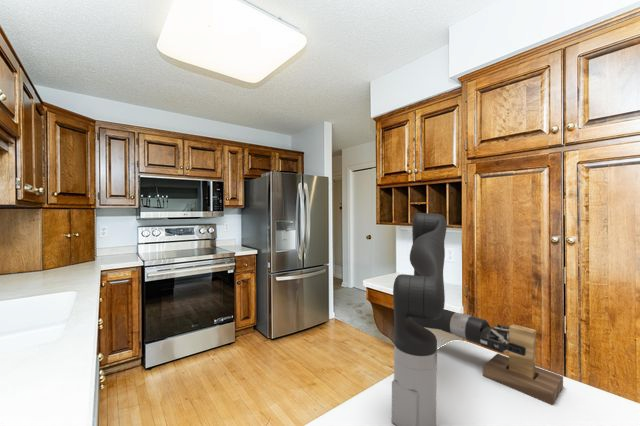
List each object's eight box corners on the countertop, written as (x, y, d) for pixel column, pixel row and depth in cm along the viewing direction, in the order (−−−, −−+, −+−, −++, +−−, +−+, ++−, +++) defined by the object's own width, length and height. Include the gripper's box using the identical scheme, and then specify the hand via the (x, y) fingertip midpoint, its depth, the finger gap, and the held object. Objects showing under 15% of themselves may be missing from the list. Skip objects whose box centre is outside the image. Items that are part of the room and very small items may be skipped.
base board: (552, 405, 71) (552, 393, 71) (482, 375, 83) (483, 365, 83) (563, 387, 78) (563, 376, 78) (497, 362, 90) (497, 353, 90)
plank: (532, 388, 78) (533, 333, 77) (508, 379, 82) (509, 326, 81) (535, 384, 80) (536, 330, 79) (512, 375, 84) (512, 323, 83)
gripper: (458, 321, 87) (522, 340, 74) (478, 310, 96) (538, 326, 84) (458, 346, 87) (521, 369, 75) (478, 333, 96) (537, 352, 84)
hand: (530, 346), depth 79 cm, fingers open, 8 cm apart
